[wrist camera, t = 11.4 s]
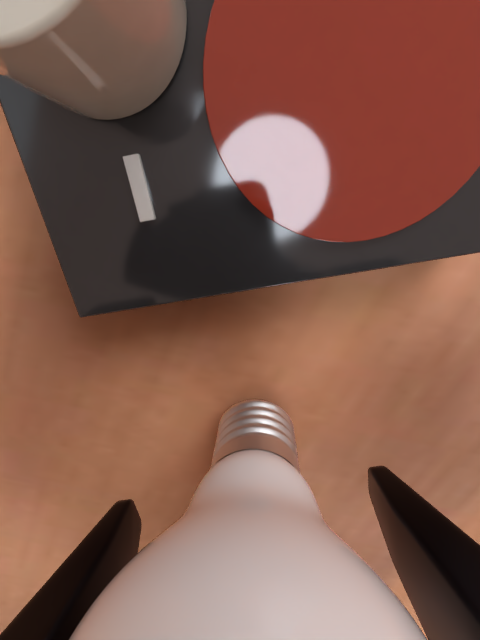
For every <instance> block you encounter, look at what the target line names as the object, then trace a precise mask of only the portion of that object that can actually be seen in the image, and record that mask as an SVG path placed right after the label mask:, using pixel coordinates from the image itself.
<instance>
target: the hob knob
mask: <svg viewBox="0 0 480 640" xmlns="http://www.w3.org/2000/svg"><path fill="white" fill-rule="evenodd" d="M186 25H187V10H186V0H0V76H2V77H4V78H6V79H8V80H10V81H12V82H14V83H16V84H18V85H20V86H22V87H24V88H26V89H28V90H30V91H32V92H34V93H36V94H38V95H40V96H42V97H44V98H46V99H48V100H49V101H51V102H53V103H55V104H57V105H59V106H61V107H63V108H65V109H67V110H70V111H72V112H74V113H76V114H79V115H82V116H85V117H88V118H94V119H103V120H111V119H120V118H124V117H127V116H131V115H133V114H135V113H137V112H139V111H141V110H143V109H144V108H146V107H147V106H149V105H150V104H151V103H153V102H154V101H155V100H156V99H157V98H158V97H159V96H160V95H161V94H162V92H163V91H164V90H165V89H166V87H167V86H168V84H169V83H170V81H171V79H172V78H173V76H174V74H175V72H176V69H177V67H178V65H179V62H180V59H181V55H182V52H183V48H184V42H185V37H186Z"/></svg>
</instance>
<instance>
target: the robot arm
mask: <svg viewBox="0 0 480 640" xmlns="http://www.w3.org/2000/svg"><path fill="white" fill-rule="evenodd" d="M368 487H369V494H370V498H371V501H372V504H373V507H374V510H375V513H376V516H377V519H378V521H379V524H380V527H381V530H382V533H383V536H384V539H385V542H386V544H387V547H388V550H389V553H390V556H391V558H392V561H393V563H394V566H395V568H396V570H397V573H398V575H399V577H400V579H401V581H402V584H403V586H404V588H405V590H406V592H407V595H408V597H409V599H410V601H411V603H412V605H413V608H414V610H415V612H416V614H417V616H418V619H419V621H420V623H421V625H422V627H423V629H424V632H425V634H426V636H427V638H428V640H480V545H479V544H478V543H476V542H475V541H474V540H473V539H472V538H470V537H469V536H468V535H467V534H466V533H464V532H463V531H462V530H461V529H460V528H458V527H457V526H456V525H455V524H454V523H452V522H451V521H450V520H449V519H448V518H446V517H445V516H444V515H443V514H442V513H440V512H439V511H438V510H437V509H436V508H434V507H433V506H432V505H431V504H430V503H428V502H427V501H426V500H425V499H424V498H422V497H421V496H420V495H419V494H418V493H416V492H415V491H414V490H413V489H412V488H410V487H409V486H408V485H407V484H406V483H404V482H403V481H402V480H401V479H400V478H398V477H397V476H396V475H395V474H394V473H392V472H391V471H390V470H389V469H388V468H386V467H385V466H375V467H370V468H369V469H368ZM140 533H141V519H140V516H139V513H138V511H137V508H136V506H135V503H134V501H133V500H131V499H128V500H121V501H118V502H116V503H115V504H114V505H113V506H112V508H111V509H110V510H109V511H108V512H107V513H106V514H105V516H104V517H103V518H102V519H101V520H100V521H99V522H98V524H97V525H96V526H95V527H94V528H93V529H92V530H91V532H90V533H89V534H88V535H87V536H86V537H85V538H84V540H83V541H82V542H81V543H80V544H79V545H78V546H77V548H76V549H75V550H74V551H73V552H72V553H71V554H70V556H69V557H68V558H67V559H66V560H65V561H64V562H63V564H62V565H61V566H60V567H59V568H58V569H57V570H56V572H55V573H54V574H53V575H52V576H51V577H50V578H49V580H48V581H47V582H46V583H45V584H44V585H43V586H42V588H41V589H40V590H39V591H38V592H37V593H36V594H35V596H34V597H33V598H32V599H31V600H30V601H29V602H28V604H27V605H26V606H25V607H24V608H23V609H22V610H21V612H20V613H19V614H18V615H17V616H16V617H15V618H14V620H13V621H12V622H11V623H10V624H9V625H8V626H7V628H6V629H5V630H4V631H3V632H2V633H1V634H0V640H69V638H70V636H71V635H72V633H73V631H74V630H75V628H76V627H77V625H78V624H79V622H80V620H81V619H82V617H83V616H84V615H85V613H86V612H87V610H88V609H89V607H90V606H91V605H92V603H93V602H94V601H95V599H96V598H97V597H98V595H99V594H100V593H101V592H102V590H103V589H104V588H105V587H106V586H107V584H108V583H109V582H110V581H111V580H112V579H113V578H114V576H115V575H116V574H117V573H118V572H119V571H120V570H121V569H122V568H123V567H124V566H125V565H126V564H127V563H128V562H129V561H130V560H131V559H132V558H133V557H134V556H135V555H136V554H137V553H138V547H139V540H140Z"/></svg>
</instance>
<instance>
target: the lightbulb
mask: <svg viewBox="0 0 480 640" xmlns="http://www.w3.org/2000/svg"><path fill="white" fill-rule="evenodd" d="M69 640H427V639H426V637H425V636H424V634H423V633H422V631H421V629H420V628H419V626H418V625H417V623H416V622H415V620H414V619H413V618H412V616H411V615H410V613H409V612H408V611H407V609H406V608H405V607H404V605H403V604H402V603H401V601H400V600H399V599H398V598H397V596H396V595H395V594H394V593H393V591H392V590H391V589H390V588H389V587H388V585H387V584H386V583H385V582H384V581H383V580H382V579H381V577H380V576H379V575H378V574H377V573H376V572H375V571H374V570H373V569H372V568H371V567H370V566H369V565H368V564H367V563H366V562H365V560H364V559H363V558H362V557H360V556H359V555H358V554H357V553H356V552H355V551H354V550H353V549H352V548H351V547H350V546H349V545H348V544H347V543H346V542H345V541H344V540H343V539H341V538H340V537H339V536H338V535H337V534H336V533H335V532H334V531H333V530H332V529H331V528H330V527H329V526H328V524H327V523H326V521H325V520H324V518H323V516H322V514H321V511H320V509H319V506H318V504H317V501H316V499H315V496H314V494H313V492H312V490H311V488H310V486H309V485H308V483H307V482H306V480H305V479H304V477H303V476H302V475H301V474H300V468H299V462H298V454H297V447H296V441H295V433H294V426H293V422H292V420H291V418H290V416H289V415H288V414H287V413H286V411H284V410H283V409H282V408H281V407H279V406H278V405H276V404H274V403H272V402H269V401H265V400H259V399H251V400H245V401H241V402H239V403H236V404H234V405H233V406H231V407H230V408H229V409H227V410H226V412H225V413H224V414H223V416H222V417H221V419H220V422H219V426H218V433H217V437H216V443H215V449H214V453H213V460H212V463H211V468H210V470H209V471H208V472H207V473H206V474H205V476H204V477H203V478H202V480H201V481H200V483H199V485H198V486H197V488H196V490H195V492H194V494H193V497H192V499H191V501H190V503H189V505H188V507H187V509H186V511H185V512H184V514H183V515H182V516H181V517H180V518H179V519H178V520H177V521H176V522H175V523H173V524H172V525H171V526H170V527H168V528H167V529H166V530H165V531H163V532H162V533H161V534H160V535H158V536H157V537H156V538H155V539H153V540H152V541H151V542H150V543H149V544H148V545H146V546H145V547H144V548H143V549H142V550H141V551H140V552H138V553H137V554H136V555H135V556H134V557H133V558H132V559H131V560H130V561H129V562H128V563H127V564H126V565H125V566H124V567H123V568H122V569H121V570H120V571H119V572H118V573H117V574H116V575H115V576H114V578H113V579H112V580H111V581H110V582H109V583H108V584H107V586H106V587H105V588H104V589H103V590H102V592H101V593H100V594H99V595H98V597H97V598H96V599H95V601H94V602H93V603H92V605H91V606H90V607H89V609H88V610H87V612H86V613H85V615H84V616H83V617H82V619H81V620H80V622H79V624H78V625H77V627H76V628H75V630H74V631H73V633H72V635H71V636H70V638H69Z"/></svg>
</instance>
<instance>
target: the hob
mask: <svg viewBox="0 0 480 640" xmlns="http://www.w3.org/2000/svg"><path fill="white" fill-rule="evenodd" d="M213 3H214V0H186V10H187V25H186V37H185V42H184V48H183V52H182V55H181V59H180V62H179V65H178V67H177V69H176V72H175V74H174V76H173V78H172V79H171V81H170V83H169V84H168V86H167V87H166V89H165V90H164V91H163V92H162V94H161V95H160V96H159V97H158V98H157V99H156V100H155V101H154V102H153V103H151V104H150V105H149V106H147V107H146V108H144V109H143V110H141V111H139V112H137V113H135V114H133V115H131V116H127V117H124V118H120V119H111V120H103V119H94V118H88V117H85V116H82V115H79V114H76V113H74V112H72V111H70V110H67V109H65V108H63V107H61V106H59V105H57V104H55V103H53V102H51V101H49V100H48V99H46V98H44V97H42V96H40V95H38V94H36V93H34V92H32V91H30V90H28V89H26V88H24V87H22V86H20V85H18V84H16V83H14V82H12V81H10V80H8V79H6V78H4V77H2V76H0V103H1V106H2V108H3V111H4V114H5V117H6V119H7V122H8V125H9V127H10V130H11V133H12V135H13V138H14V141H15V144H16V146H17V149H18V152H19V154H20V157H21V160H22V162H23V165H24V168H25V171H26V173H27V176H28V179H29V181H30V184H31V187H32V189H33V192H34V195H35V198H36V200H37V203H38V206H39V208H40V211H41V214H42V216H43V219H44V222H45V225H46V227H47V230H48V233H49V235H50V238H51V241H52V244H53V246H54V249H55V252H56V254H57V257H58V260H59V262H60V265H61V268H62V271H63V273H64V276H65V279H66V281H67V284H68V287H69V289H70V292H71V295H72V298H73V300H74V303H75V306H76V308H77V311H78V314H79V316H80V317H87V316H93V315H100V314H106V313H112V312H118V311H124V310H130V309H136V308H142V307H149V306H155V305H161V304H167V303H173V302H179V301H185V300H192V299H198V298H204V297H210V296H216V295H222V294H228V293H234V292H241V291H247V290H253V289H259V288H265V287H271V286H277V285H283V284H290V283H296V282H302V281H308V280H314V279H320V278H326V277H332V276H339V275H345V274H351V273H357V272H363V271H369V270H375V269H382V268H388V267H394V266H400V265H406V264H412V263H418V262H424V261H431V260H437V259H443V258H449V257H455V256H461V255H467V254H473V253H480V166H479V167H478V169H477V170H476V171H475V172H474V174H473V175H472V176H471V177H470V179H469V180H468V181H467V182H466V183H465V184H464V185H463V186H462V187H461V188H460V189H459V190H458V191H457V192H456V193H455V194H454V195H453V196H452V197H451V198H450V199H449V200H447V201H446V202H445V203H444V204H442V205H441V206H440V207H439V208H438V209H436V210H435V211H433V212H432V213H430V214H429V215H427V216H426V217H424V218H423V219H421V220H420V221H418V222H416V223H414V224H412V225H410V226H408V227H406V228H404V229H402V230H400V231H397V232H394V233H392V234H389V235H386V236H383V237H379V238H374V239H370V240H366V241H356V242H329V241H323V240H317V239H312V238H309V237H306V236H302V235H299V234H296V233H294V232H292V231H290V230H288V229H286V228H284V227H282V226H280V225H278V224H277V223H275V222H274V221H272V220H271V219H269V218H268V217H266V216H265V215H264V214H263V213H261V212H260V211H259V210H258V209H257V208H256V207H255V206H253V205H252V204H251V203H250V202H249V200H248V199H247V198H246V197H245V196H244V195H243V194H242V192H241V191H240V190H239V189H238V187H237V186H236V184H235V183H234V181H233V180H232V178H231V177H230V175H229V174H228V172H227V170H226V168H225V166H224V164H223V162H222V160H221V158H220V156H219V154H218V151H217V148H216V146H215V143H214V140H213V137H212V135H211V131H210V127H209V122H208V118H207V114H206V107H205V99H204V91H203V57H204V47H205V37H206V32H207V27H208V22H209V18H210V13H211V9H212V6H213Z"/></svg>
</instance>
